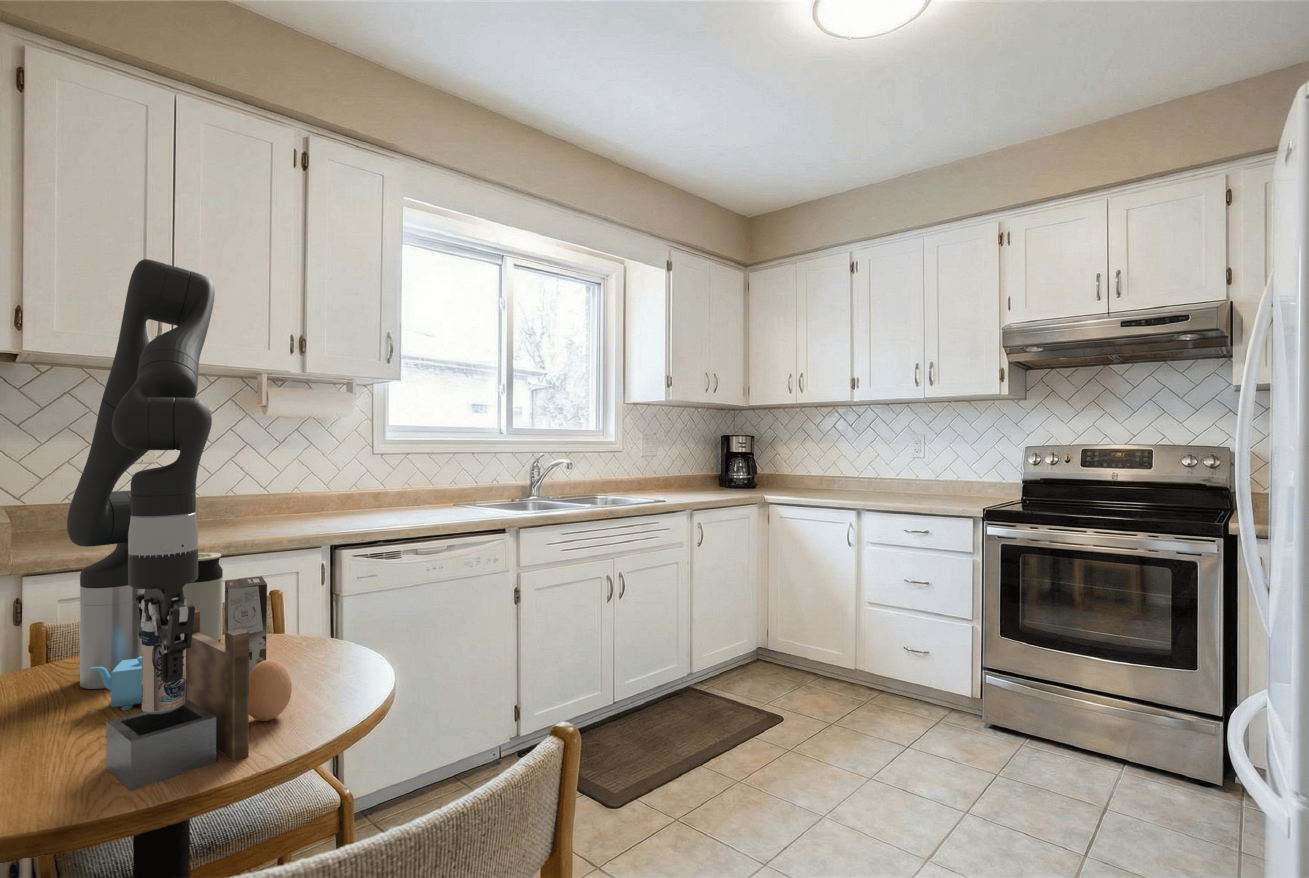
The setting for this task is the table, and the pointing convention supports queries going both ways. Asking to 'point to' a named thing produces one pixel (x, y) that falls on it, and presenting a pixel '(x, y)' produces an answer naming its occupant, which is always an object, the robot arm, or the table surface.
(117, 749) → the post bracket
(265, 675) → the egg
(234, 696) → the headboard panel
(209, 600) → the travel mug
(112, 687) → the teapot
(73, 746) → the table surface
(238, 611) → the coffee box
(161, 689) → the beer can
